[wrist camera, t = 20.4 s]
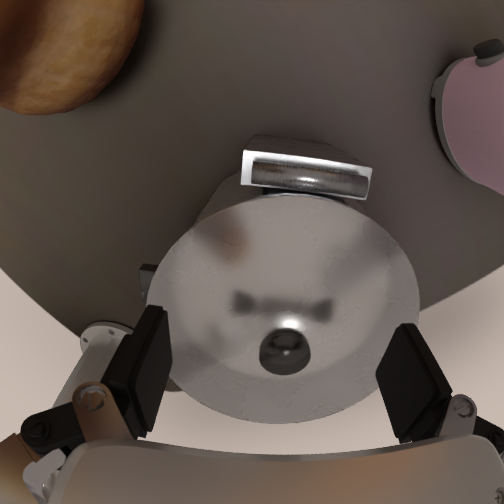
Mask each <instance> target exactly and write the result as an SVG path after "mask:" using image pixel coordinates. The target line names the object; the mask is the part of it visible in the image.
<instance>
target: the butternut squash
mask: <svg viewBox="0 0 504 504" xmlns="http://www.w3.org/2000/svg"><path fill="white" fill-rule="evenodd" d="M144 7H145V5H144V0H0V106H1V107H3V108H6V109H8V110H11V111H14V112H16V113H19V114H26V115H49V114H55V113H66V112H69V111H72V110H74V109H75V108H77V107H79V106H81V105H83V104H85V103H87V102H89V101H91V100H93V99H95V98H97V97H98V95H99V93H100V92H101V90H102V89H104V88H105V87H106V86H107V85H108V84H109V83H110V82H111V81H112V80H113V79H114V78H115V77H116V76H117V74H118V73H119V71H120V69H121V68H122V66H123V64H124V62H125V61H126V59H127V57H128V55H129V53H130V52H131V49H132V47H133V45H134V43H135V41H136V39H137V37H138V34H139V30H140V26H141V20H142V15H143V12H144Z"/></svg>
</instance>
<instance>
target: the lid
mask: <svg viewBox="0 0 504 504" xmlns="http://www.w3.org/2000/svg"><path fill="white" fill-rule="evenodd" d="M251 184H260V185H270V186H279V187H288V188H296V189H304V190H312V191H319V192H326V193H333V194H340V195H347V196H353V197H359V198H365V197H366V195H367V193H368V188H369V180H368V177H367V176H363V175H357V174H351V173H346V172H339V171H333V170H327V169H320V168H313V167H306V166H298V165H290V164H282V163H273V162H264V161H254V160H253V165H252V174H251ZM148 304H150V305H157V306H162V307H163V310H166V311H167V312H168V321H169V331H170V341H171V349H172V358H173V362H172V367H171V370H170V374H169V377H170V378H171V379H172V380H173V381H174V382H175V383H176V384H177V385H178V386H179V387H180V388H181V389H182V390H183V391H184V392H186V393H187V394H188V395H189V396H191V397H192V398H194V399H195V400H197V401H198V402H200V403H201V404H203V405H205V406H207V407H209V408H211V409H212V410H215V411H217V412H220V413H222V414H225V415H227V416H231V417H234V418H238V419H241V420H246V421H251V422H258V423H268V424H286V423H298V422H305V421H311V420H315V419H319V418H323V417H326V416H329V415H332V414H334V413H337V412H339V411H342V410H344V409H346V408H348V407H350V406H352V405H354V404H356V403H357V402H359V401H361V400H363V399H364V398H366V397H367V396H368V395H370V394H371V393H373V392H374V391H375V390H376V389H378V388H379V386H378V383H377V380H376V377H375V372H376V369H377V367H378V365H379V363H380V361H381V359H382V357H383V355H384V353H385V351H386V349H387V347H388V345H389V342H390V340H391V338H392V336H393V334H394V331H395V329H396V328H397V327H398V326H399V325H400V324H401V323H414V324H415V325H416V327H417V324H418V319H419V308H420V300H419V289H418V284H417V280H416V276H415V273H414V271H413V268H412V266H411V264H410V262H409V259H408V258H407V256H406V255H405V253H404V251H403V250H402V248H401V247H400V245H399V244H398V243H397V242H396V241H395V240H394V239H393V238H392V237H391V235H390V234H389V233H388V232H387V231H386V230H384V229H383V228H382V227H381V226H380V225H378V224H377V223H376V222H374V221H373V220H372V219H370V218H369V217H368V216H366V215H365V214H363V213H361V212H359V211H358V210H356V209H354V208H352V207H350V206H348V205H345V204H343V203H340V202H337V201H334V200H331V199H328V198H323V197H318V196H313V195H308V194H291V193H284V194H271V195H262V196H258V197H253V198H249V199H245V200H241V201H238V202H236V203H233V204H230V205H228V206H225V207H223V208H221V209H219V210H217V211H215V212H213V213H211V214H210V215H208V216H206V217H204V218H203V219H202V220H200V221H199V222H198V223H196V224H195V225H194V226H192V227H191V228H190V229H188V230H187V231H186V232H185V233H184V234H183V235H182V236H181V237H180V238H179V240H178V241H177V242H176V243H175V244H174V245H173V246H172V247H171V248H170V250H169V251H168V253H167V254H166V255H165V257H164V258H163V260H162V261H161V263H160V264H159V266H158V268H157V270H156V272H155V274H154V276H153V278H152V281H151V285H150V288H149V291H148V295H147V303H146V307H147V305H148Z"/></svg>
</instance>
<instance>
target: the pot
mask: <svg viewBox="0 0 504 504" xmlns="http://www.w3.org/2000/svg"><path fill="white" fill-rule="evenodd" d="M253 160H254V161H264V162H273V163H282V164H290V165H298V166H306V167H313V168H320V169H327V170H333V171H339V172H346V173H351V174H357V175H363V176H367V177H368V180H369V184H370V178H371V173H372V168H371V167H369V166H367V165H366V164H364V163H362V162H361V161H359V160H357V159H355V158H353V157H352V156H350V155H348V154H346V153H344V152H343V151H341V150H339V149H337V148H335V147H333V146H331V145H330V144H324V143H318V142H311V141H304V140H297V139H289V138H280V137H271V136H262V135H254V137H253V138H252V139H251V141H250V142H249V143H248V145H247V146H246V148H245V149H244V150H243V162H242V169H241V170H239V171H237V172H236V173H234V174H233V175H231V176H229V177H227V178H225V179H224V180H222V182H221V183H220V185H219V186H218V188H217V189H216V191H215V192H214V194H213V195H212V196H211V198H210V199H209V201H208V202H207V204H206V205H205V207H204V208H203V210H202V211H201V213H200V215H199V216H198V218H197V219H196V221H195V222H194V224H193V225H192V226H194V225H195V224H196V223H198V222H199V221H200V220H202V219H203V218H204V217H206V216H208V215H210V214H211V213H213V212H215V211H217V210H219V209H221V208H223V207H225V206H228V205H230V204H233V203H236V202H238V201H241V200H245V199H249V198H253V197H258V196H262V195H271V194H284V193H291V194H308V195H313V196H318V197H323V198H328V199H331V200H334V201H337V202H340V203H343V204H345V205H348V206H350V207H352V208H354V209H356V210H358V211H359V212H361V213H363V214H365V215H366V216H368V217H369V218H370V219H371V217H370V216H369V215H368V214H367V213H366V212H365V211H364V209H363V208H362V207H361V206H360V205H359V204H358V203H357V202H356V201H355V199H360V200H366V199H367V195H366V197H365V198H359V197H353V196H347V195H340V194H333V193H326V192H319V191H312V190H304V189H296V188H288V187H279V186H270V185H260V184H251V174H252V165H253ZM368 189H369V188H368ZM367 194H368V193H367ZM158 266H159V265H151V264H143V265H142V266H141V267H140V269H139V277H140V285H141V292H142V299H143V301H144V302H147V295H148V291H149V288H150V285H151V281H152V278H153V276H154V274H155V272H156V270H157V268H158Z"/></svg>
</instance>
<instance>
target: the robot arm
mask: <svg viewBox="0 0 504 504" xmlns="http://www.w3.org/2000/svg"><path fill="white" fill-rule="evenodd" d="M80 345H81V350H82V352H83V355H82V357H81V358H80V360H79V362H78V363H77V365H76V367H75V368H74V370H73V372H72V373H71V375H70V377H69V378H68V380H67V382H66V384H65V385H64V387H63V389H62V391H61V392H60V394H59V396H58V398H57V399H56V401H55V403H54V405H53V407H52V409H49V410H46V411H43V412H40V413H37V414H34V415H31V416H30V417H28V418H27V419H26V420H25V421H24V422H23V424H22V426H21V432H20V433H19V434H17V435H16V434H15V433H13V434H12V435H10V436H9V437H8V438H6V439H5V440H3V441H2V442H0V504H504V430H503V429H501V428H500V427H498V426H496V425H494V424H492V423H490V422H488V421H486V420H484V419H482V418H481V417H479V416H477V408H476V405H475V403H474V401H473V400H471V398H469V397H468V396H466V395H463V394H458V395H455V396H453V397H452V396H451V393H452V392H453V391H452V389H451V387H450V385H449V383H448V381H447V379H446V377H445V376H444V374H443V372H442V370H441V368H440V367H439V365H438V363H437V361H436V359H435V357H434V356H433V354H432V352H431V350H430V349H429V347H428V345H427V343H426V342H425V340H424V338H423V337H422V335H421V333H420V332H419V330H418V328H417V327H416V325H415V324H414V323H401V324H400V325H399V326H398V327H397V328H396V329H395V331H394V334H393V336H392V338H391V340H390V342H389V345H388V347H387V349H386V351H385V353H384V355H383V357H382V359H381V361H380V363H379V365H378V367H377V369H376V372H375V377H376V380H377V383H378V386H379V388H380V391H381V394H382V397H383V400H384V403H385V406H386V409H387V413H388V415H389V419H390V422H391V425H392V428H393V431H394V435H395V437H396V438H398V439H399V443H400V445H395V446H389V447H383V448H376V449H369V450H360V451H351V452H341V453H327V454H307V455H306V454H305V455H268V454H246V453H232V452H221V451H213V450H204V449H196V448H188V447H181V446H175V445H169V444H162V443H156V442H150V441H144V440H137V438H138V436H139V437H143V438H146V435H147V431H148V432H152V430H153V426H154V423H155V420H156V416H157V413H158V410H159V406H160V403H161V400H162V396H163V393H164V390H165V387H166V383H167V380H168V377H169V374H170V370H171V367H172V362H173V358H172V349H171V341H170V331H169V321H168V312H167V311H166V310H163V307H162V306H157V305H150V304H148V305H147V307H146V308H145V310H144V312H143V314H142V316H141V318H140V320H139V322H138V323H137V325H136V327H135V329H134V331H133V330H132V329H130V328H128V327H125V326H122V325H120V324H116V323H112V322H95V323H93V324H90V325H89V326H88V327H86V329H85V330H84V332H83V333H82V335H81V338H80ZM411 441H412V442H411ZM408 442H411V443H408ZM403 443H406V444H403ZM43 484H44V487H43Z"/></svg>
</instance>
